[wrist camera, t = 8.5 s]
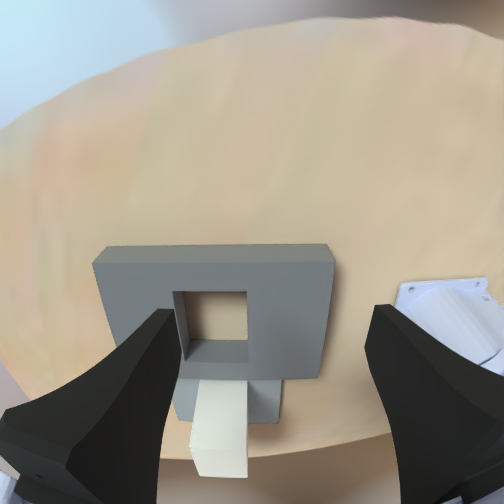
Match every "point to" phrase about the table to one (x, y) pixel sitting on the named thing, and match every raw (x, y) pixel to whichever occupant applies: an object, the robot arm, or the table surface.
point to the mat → (259, 400)
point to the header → (227, 279)
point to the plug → (221, 429)
